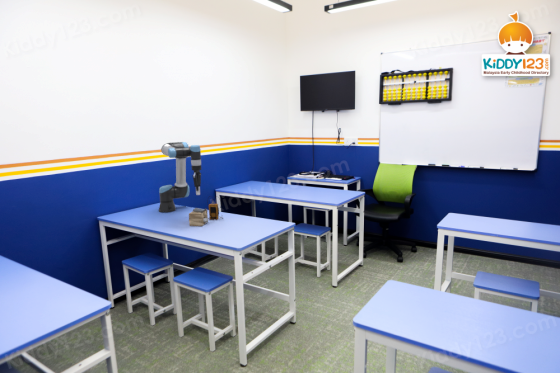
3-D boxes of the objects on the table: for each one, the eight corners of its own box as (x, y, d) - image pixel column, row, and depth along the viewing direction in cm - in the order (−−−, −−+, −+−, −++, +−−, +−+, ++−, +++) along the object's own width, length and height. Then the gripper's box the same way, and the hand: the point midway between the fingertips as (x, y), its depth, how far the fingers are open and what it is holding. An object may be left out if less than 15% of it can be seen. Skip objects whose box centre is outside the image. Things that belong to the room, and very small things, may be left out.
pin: (189, 224, 281) (188, 217, 280) (192, 222, 287) (191, 215, 286) (206, 224, 279) (206, 217, 278) (209, 222, 285) (208, 215, 284)
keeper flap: (195, 208, 284) (195, 207, 284) (205, 210, 284) (205, 209, 283) (192, 210, 279) (192, 209, 278) (202, 212, 278) (202, 211, 278)
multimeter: (225, 216, 303) (224, 193, 299) (222, 219, 293) (220, 196, 289) (208, 216, 304) (207, 193, 301) (205, 219, 294) (203, 196, 291)
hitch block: (196, 221, 291) (195, 207, 289) (208, 221, 289) (207, 207, 287) (189, 226, 277) (188, 211, 275) (202, 226, 276) (201, 212, 273)
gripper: (194, 164, 281) (196, 192, 286) (188, 166, 269) (190, 196, 273) (203, 164, 280) (205, 193, 285) (197, 166, 268) (199, 196, 272)
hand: (198, 194), depth 279 cm, fingers closed
